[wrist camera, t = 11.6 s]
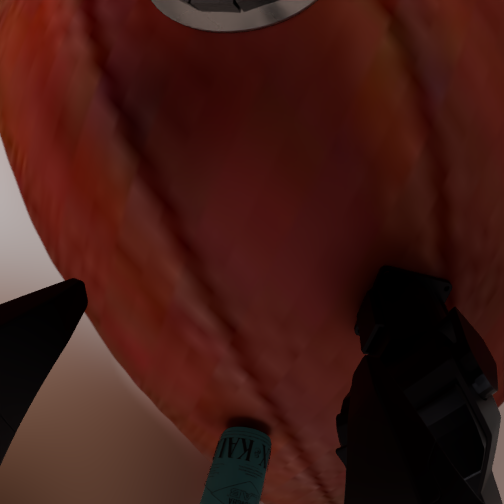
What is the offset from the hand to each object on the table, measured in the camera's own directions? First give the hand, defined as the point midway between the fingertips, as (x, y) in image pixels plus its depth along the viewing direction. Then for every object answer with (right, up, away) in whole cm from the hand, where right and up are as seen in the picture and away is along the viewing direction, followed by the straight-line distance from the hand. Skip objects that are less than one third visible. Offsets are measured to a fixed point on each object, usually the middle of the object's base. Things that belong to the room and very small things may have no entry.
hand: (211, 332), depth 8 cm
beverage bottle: (+1, -20, +25) cm, 32 cm away
